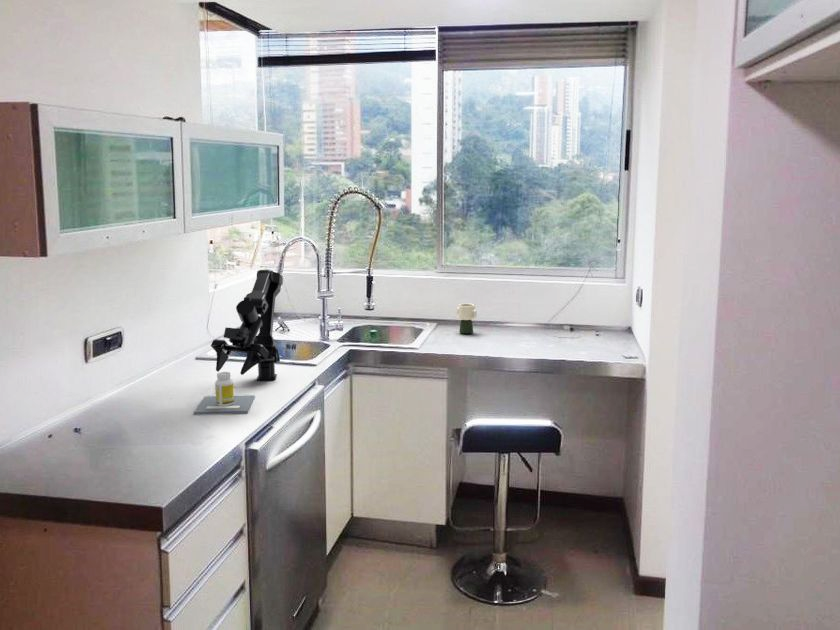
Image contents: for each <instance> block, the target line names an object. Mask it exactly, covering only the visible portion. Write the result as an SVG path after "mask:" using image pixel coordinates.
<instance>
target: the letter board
mask: <svg viewBox="0 0 840 630" xmlns="http://www.w3.org/2000/svg"><path fill="white" fill-rule="evenodd" d="M254 398H255V399H256V395H255V394H254V395H252V394H251V395H247V394H246V395H245V394H244V395H234V403H233V404H232V405H229V406H219V405H217V404H216V395H213V396H212V395H211V396H210V395H207V396H206V395H205V396H204V397H203V398H202V399H201V400H200V402H199V404H198V405H197V407H196V408H195V410H194V411H193V415H224V414H225V415H227V414H228V415H229V414H235V415H236V414H237V415H238V414H248V413H249V411H250V409H251V407H252V405H253V403H254V401H255V399H254ZM253 400H254V401H253Z"/></svg>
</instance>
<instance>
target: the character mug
mask: <svg viewBox="0 0 840 630" xmlns="http://www.w3.org/2000/svg"><path fill="white" fill-rule="evenodd" d="M456 315H458V319H459V320H461V321H460V324H459V333H460V334H468V335H469V334H471V333H474V326H473V321H472V320H474V319H475V318H477V315H478V314H477V310H476V309H475V304H473V303H460V304H459V303H458V307H456Z"/></svg>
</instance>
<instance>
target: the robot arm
mask: <svg viewBox="0 0 840 630" xmlns="http://www.w3.org/2000/svg"><path fill="white" fill-rule="evenodd" d="M283 283H284V278H283V275H282V274H281V273H279V272H276V271H273V270H271V269H259V270H257V272H256V279H255V282H254V284H253V288H252V290H251V291H250V293H247V294H246V295H245V296H244V297H243V299H242V300H241V301H239V302H238V303H237V305H236V306H235V307H236V308H235V309H236V312H237V315H238V317H239V319H240V321H241V325H240V327H239V328H238V327H236V328H235V327H225V329H224V333H223V338H224V339H225V338H226V339H228V341H229V343H231V344H229V343H227V341H226V340H224V339H218V338H217V339H213V341H212V342H211V344H210V347H211V348H212V349H213V350H214V351H215V353H216V365H215V371H216V372H218V373H220V370H221V369H222V368H223V367H224V365H225V364H226V362H227V361H228V359H229V358H230V357H229V355H230V354H231V353H232V352H234V353H245V354H246V358H245V360H244V363H243V365H242V367H241V370H240V375H244V374H245V373H247V372H248V371H250V369H253V367H255V366H256V365H257V373H258V374H257V377H256V378H255V380H256V381H276V378H277V377H278V374H277V373H276V369H275V365H276V364H275V363H278V362H281V356H280V351H279V349H278V346H277V343H276V341H275V339H274V337H273V330H274V328H273V327H274V317H275V306H276V297H277V296H278V295H279V293H280V292H281V289H282V288H281V287H282V286H283V285H284V284H283ZM258 332H259V333H258Z"/></svg>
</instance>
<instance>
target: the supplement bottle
mask: <svg viewBox="0 0 840 630" xmlns="http://www.w3.org/2000/svg"><path fill="white" fill-rule="evenodd" d="M216 377H217V380H216V381H215V382H214V386H215V396H216V404H217V405H219V406H229V405H232V404H233V403H234V396H235V395H234V381H233V380H232V379H231V372H229V371H221V372H220V371H219V372H218V373H216Z"/></svg>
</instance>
